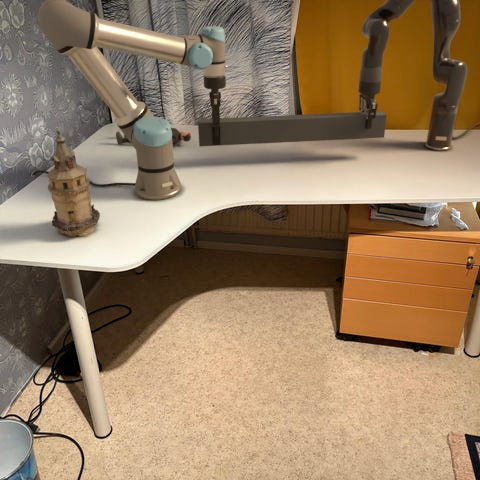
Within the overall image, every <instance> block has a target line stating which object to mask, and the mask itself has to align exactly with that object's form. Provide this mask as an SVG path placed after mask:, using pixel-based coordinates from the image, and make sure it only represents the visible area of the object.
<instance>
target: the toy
mask: <svg viewBox="0 0 480 480" xmlns="http://www.w3.org/2000/svg"><path fill="white" fill-rule="evenodd" d="M171 130H172V145H173V147H174V146H178V145H179V144H180V143H181V142H185V143H187V142H189V141H191V138H192V137H191V136H192V134H191V132H189V131H180V130H178V129H177V128H175V127H171ZM115 138H116V143H117V145H122V144H132V143H131V142H130V141H129V140H128V139H127V137H126V136H125V134H124V133H123V135H122V134H121V132H120V131H119V130H118V131H116V132H115Z"/></svg>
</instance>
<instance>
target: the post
mask: <svg viewBox="0 0 480 480" xmlns="http://www.w3.org/2000/svg"><path fill="white" fill-rule="evenodd" d="M370 115H371V114H370ZM387 117H388V115H387V114H386V113H385V111H383V110H377V111H376V116H375V118H373V119H372V127H371V129H366V128H365V122H366V113H365V112H360V111H355V112H351V111H350V112H331V113H330V112H329V113H307V114H306V113H305V114H286V115H265V116H263V115H262V116H241V117H239V116H238V117H220V143H221V144H220V145H213V132H212V127H211V125H212V124H213V119H212V118H197V130H198V145H199V147H217V146H218V147H219V146H239V145H260V144H277V143H278V144H281V143H300V142H302V143H303V142H323V141H339V140H340V141H342V140H343V141H345V140H358V139H359V140H364V139H384V138H385V134H386V125H387V124H386V123H387Z"/></svg>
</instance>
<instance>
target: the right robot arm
mask: <svg viewBox="0 0 480 480" xmlns="http://www.w3.org/2000/svg"><path fill="white" fill-rule="evenodd" d="M414 2H416V0H386V1H385V2H384V3H383V4H381V5H380V6H379V7H378V8H376V9H375V10H374V11H373V12H372V13H370V14H369V15H368V16H367V17H366V18H365V20H364V21H363V23H362V25H361V33H362V35H363V36H364V38H366V39H367V40H368V44H367V47H365V48H364V49H363V51H362V56H361V67H360V71H359V81H358V93H359V101H358V102H359V104H358V110H359V111H358V112H365V113H366V122H365V128H366V129H371V127H372V119H373V118H375V116H376V111H378V106H379V103H378V102H376V95H379V94H380V93H381V86H382V79H383V78H382V77H383V64H384V63H383V62H384V53H385V51H386V47H387V45H388V42H389V38H390V32H391V31H390V29H391V28H390V23H391V22H392V21H395V20H399V19H400V18H401V17H402V16H403V15H404V14H405V13H406V11H407V10H408V9H409V8H410V7H411V6H412V5H413V4H414ZM430 5H431V24H432V44H433V45H432V46H433V50H432V51H433V54H432V78H433V80H434V82H436V83H437V84H440V85H444V86H445V89H444V92H439V93H436V94H435V95H434V96H433V99H432V106H431V111H430V117H429V123H428V129H427V135H426V141H425V147H426V148H427V149H430V150H433V151H440V152H441V151H448V150H451V147H452V141H453V140H458V139H460V138H462V137H463V136H464V135H466V134H468V132H470V131H471V130H472V129H473V128H475V127H476V126H478V125H480V121H479V122H477V123H475V124H473V125H471V126H470V127H469V128H467V129H466V130H465V131H464V132H463V133H461V134H459V135H458V136H455V137H454V130H455V124H456V119H457V115H458V108H459V104H460V100H461V99H462V95H463V93H464V89H465V84H466V80H467V76H468V65H467V63H466V62H464V61H462V60H458V59H453V58H451V55H450V54H451V53H450V47H451V43H452V40H453V38H454V37H455V35H456V33H457V31H458V29H459V28H460V25H461V3H460V0H430ZM370 114H371V115H370Z"/></svg>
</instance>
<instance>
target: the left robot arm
mask: <svg viewBox="0 0 480 480" xmlns="http://www.w3.org/2000/svg"><path fill="white" fill-rule="evenodd" d="M35 21H36V24H37V26H38V28H39V31H41V33H42V34H43V36H45V37H46V39H47V40H48V41H49V42H50V44H52V46H53V47H54V48H55V50H57V52H58V54H60V55H63V56H66V57H67V56H68V57H69V59H70V60H71V61H72V63H73V64H74V65H75V66H76V68H77V69H78V71H79V72H80V73H81V74H82V75H83V77H84V78H85V79H86V80H87V82H88V83H89V84H90V85H91V87H92V88H93V89H94V91H95V92H96V93H97V95H99V97H100V98H101V100H102V101H103V102H104V103H105V104H106V105H107V107H108V108H109V109H110V111H111V112H112V113H113V115H114V116H115V117H116V119H115V120H116V121H115V123H116V126H117V127H118V128H119V129H120V131H121V132H122V133H123V135H124V134H125V136H126V137H127V139H128V140H129V141H130V142H131V143H130V144H131V145H132V146H133V148H134V150H135V154H136V160H137V175H136V179H135V182H111V183H101V184H99V183H94V182H92V181H91V180H90V184H89V185H91V186H93V187H98V188H102V187H103V188H104V187H105V188H106V187H111V186H112V187H113V186H134V193H135V195H136V196H137V197H138V198H141V199H143V200H148V201H161V200H168V199H171V198H174V197H176V196H178V195H179V194H180V193H181V192H182V183H181V180H180V177H179V176H178V173H177V171H176V169H175V161H174V160H175V159H174V158H175V157H174V146H173V145H172V130H171V128H172V126H171V124H170V122H169V120H167V119H165V118H161V117H158V116H155V115H154V114H153V113H152V111H151V110H150V108H148V106H147V104H146V103H145V102H143V101H139V100H137V98H136V97H135V96H134V95H133V93H132V92H131V90H130V89H129V88H128V87H127V85H126V84H125V83H124V80H122V78H121V77H120V76H119V75H118V73H117V72H116V70H115V69H114V68H113V66H112V65H111V64H110V62H109V60H107V58H106V57H105V55H104V54H103V53H102V52H101V51H100V49H106V50H110V51H116V52H119V53H124V54H130V55H135V56H140V57H145V58H149V59H155V60H159V61H164V62H169V63H173V64H179V65H182V66H186V67H187V66H188V67H191V68H193V69H195V70H199V71H202V74H203V88H204V89H206V90H210V91H209V94H208V95H209V102H210V103H209V104H210V107H211V119H213V124H212V125H211V127H212V132H213V145H220V144H221V143H220V118H221V116H220V115H221V114H220V113H221V112H220V107H221V99H222V92H221V91H219V90H222V89H225V88H226V87H227V78H226V76H225V75H226V69H227V68H228V65H227V64H226V35H225V29H224V28H223V27H222V26H217V25H216V26H215V25H214V26H213V25H212V26H211V25H210V26H203V27H202V28H201V31H200V32H201V33H199V34H188V35H172V34H168V33H163V32H159V31H155V30H150V29H146V28H141V27H138V26H134V25H133V26H132V25H128V24H124V23H120V22H115V21H111V20H108V19H103V18H99V16H98V15H97V14H96V13H94V12H90V11H86V10H83V9H81V8H79V7H77V6H75V5H73V3H71V2H70V1H69V0H43V1H42V2H40V3H39V5H38V7H37V9H36V12H35ZM99 48H100V49H99ZM220 146H221V145H220ZM38 173H39V174H41V173H42V174H46V175H48V173H49V171H48V170H43V169H42V170H40V169H39V170H35V171H33V172H32V174H31V175H32V176H35V175H37V174H38Z"/></svg>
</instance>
